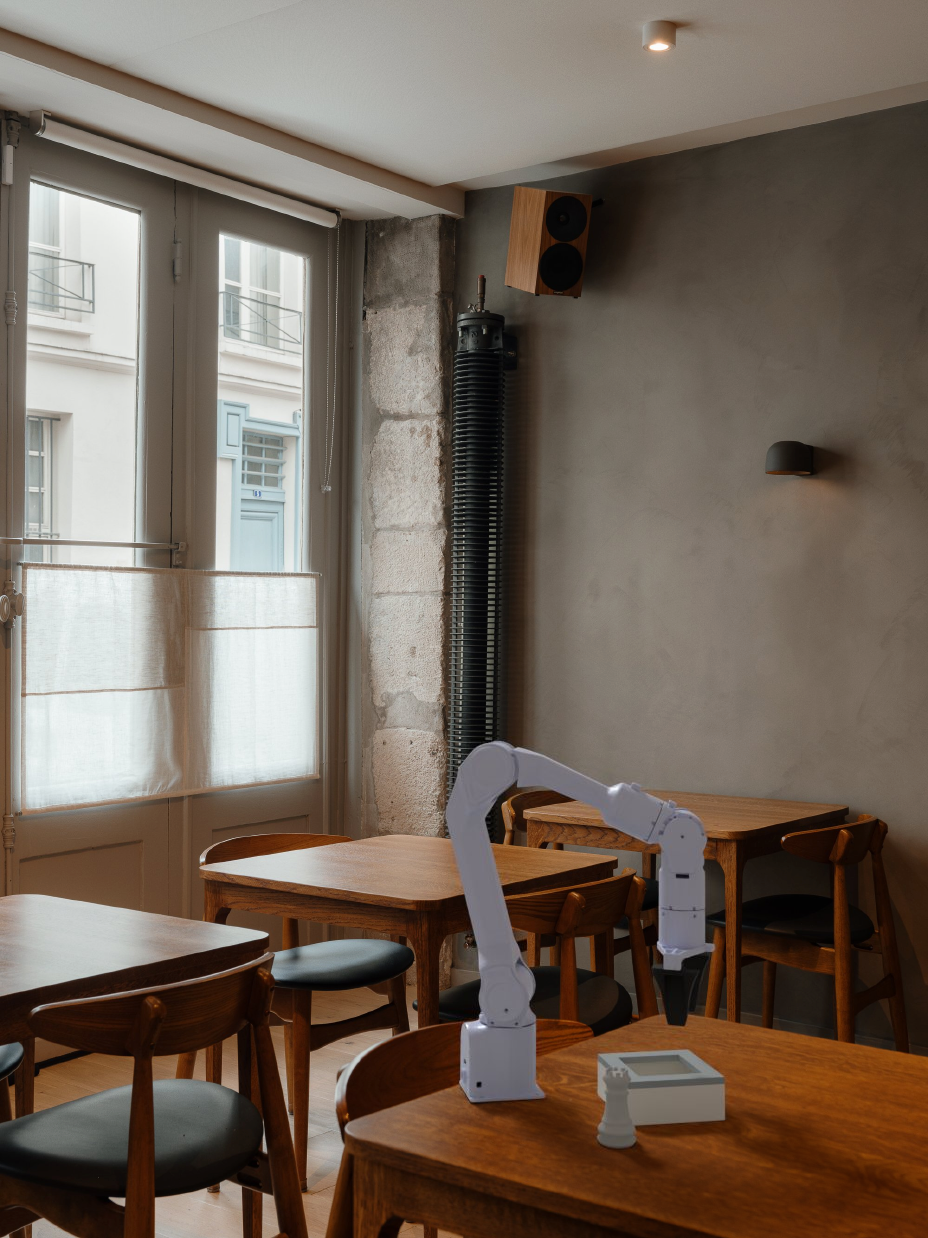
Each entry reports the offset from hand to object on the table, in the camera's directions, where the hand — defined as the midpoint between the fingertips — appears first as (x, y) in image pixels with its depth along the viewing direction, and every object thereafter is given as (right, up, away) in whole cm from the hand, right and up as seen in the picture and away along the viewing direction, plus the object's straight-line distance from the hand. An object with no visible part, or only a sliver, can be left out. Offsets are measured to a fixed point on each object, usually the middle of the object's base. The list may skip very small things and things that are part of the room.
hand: (681, 1018), depth 158 cm
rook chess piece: (-10, -9, -16) cm, 21 cm away
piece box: (-3, -10, -3) cm, 11 cm away
